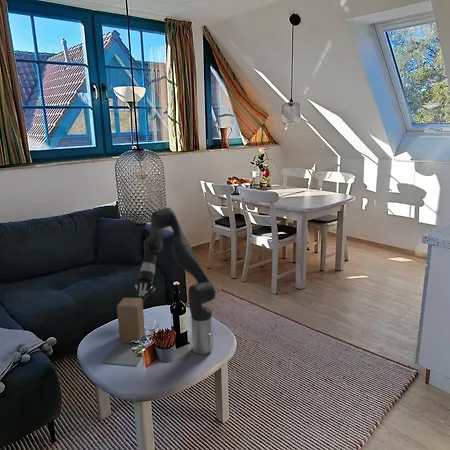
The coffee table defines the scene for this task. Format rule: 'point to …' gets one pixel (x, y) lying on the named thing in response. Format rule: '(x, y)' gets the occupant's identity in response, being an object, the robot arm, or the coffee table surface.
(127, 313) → the wooden block
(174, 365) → the coffee table surface
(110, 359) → the slate mat
